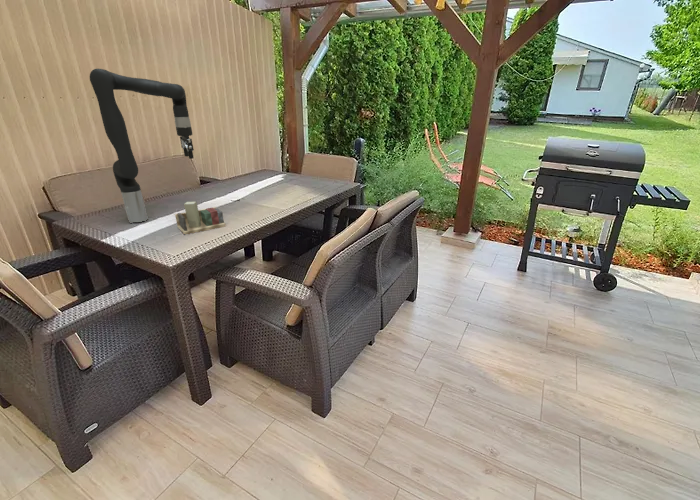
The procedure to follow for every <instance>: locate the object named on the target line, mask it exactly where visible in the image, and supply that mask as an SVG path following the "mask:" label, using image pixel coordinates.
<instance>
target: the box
mask: <svg viewBox="0 0 700 500" xmlns="http://www.w3.org/2000/svg"><path fill="white" fill-rule="evenodd" d="M183 206H184V210H185V212H186V215H187V220H188V224H189V227H199V226H200V225H201V221H200V216H199V212H198V210H199V208H198V204H197V201H186V202H185V203H184V204H183Z"/></svg>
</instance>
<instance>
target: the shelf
mask: <svg viewBox="0 0 700 500" xmlns="http://www.w3.org/2000/svg"><path fill="white" fill-rule="evenodd" d="M198 212H199V216H200V221H201V225H200V226H199V227H189V224H188V220H187V215H186V211H185V212H178V213H175V214H174V217H175V221H176V224H177V225H176V226H177V229H178V228H179V229H180V230H181V231H182V232H183V233H182V232H181V231H180V230H179V229H178V230H179V231H180V232H181V233H182V234H183V235H184V234H188V235H191V234H190V233H192V234H196V233H195V232H197V233H201V232H200V231H202V232H205V231H209V230H211V231H212V230H215V228H216V229H219V228H224V227H226V226H227V225H226V223H225V221H224V215H223V211H222V210H220V209H219V208H217V207H216V206H214V207H208V208H202V209H198Z"/></svg>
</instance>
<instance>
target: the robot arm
mask: <svg viewBox="0 0 700 500" xmlns="http://www.w3.org/2000/svg"><path fill="white" fill-rule="evenodd" d="M89 81H90V84H91V87H92V89H93V91H94V94H95V97H96V100H97V103H98V107H99V111H100V116H101V121H102V124H103V128H104V131H105V134H106V137H107V138H108V140H109V142H110V144H111V145H112V147H113V148H114V150H115V152H116V155H117V160H116V161H114V163H113V164H112V171H113V175H114V179H115V181H116V184H117V186H118V189H120V193H121V197H122V200H123V206H124V210H125V212H126V213H125V214H126V217H127V221H128V220H129V221H128V222H130V223H132V222H142V221H145V222H147V221H148V220H149V217H148V214H147V209H146V206H145V201H144V197H143V193H142V190H141V189H142V188H141V186H140V184H139V183H138V181H136V179H135V178H137V176H138V175H139V167H138V164H137V162H136V159H135V155H134V152H133V150H132V146H131V141H130V139H129V138H130V137H129V134H128V133H129V132H128V129H127V125H126V121H125V118H124V116H123V114H122V112H121V110H120V108H119V106H118V104H117V101H116V97H115V91H114V90H118V91H121V90H122V91H129V92H135V93H140V94H144V95H149V96H154V97H164V98H166V99H167V98H168V99H171V101H172V111H173V119H174V124H175V125H174V126H175V131H176V136H178V137H179V139H180V145H181V148H182V150H183V154H184V157H188V159H190V160H192V159H194V152H193V151H194V144H193V140H192V138H190V137H191V136H193V129H192V123H191V119H190V113H189V109H188V107H187V106H188V105H187V96H186V95H187V94H186V90H185V88H184V87H183V86H182V85H180V84H177V83H170V82H162V81H159V80H154V79H148V78H140V77H130V76H126V75H121V74H119V73H115V72H112V71H109V70H107V69H104V68H94V69H92V70H91V71H90V73H89ZM147 219H148V220H147ZM146 220H147V221H146ZM130 223H129V224H130ZM142 223H143V222H142ZM132 224H133V223H132Z"/></svg>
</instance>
